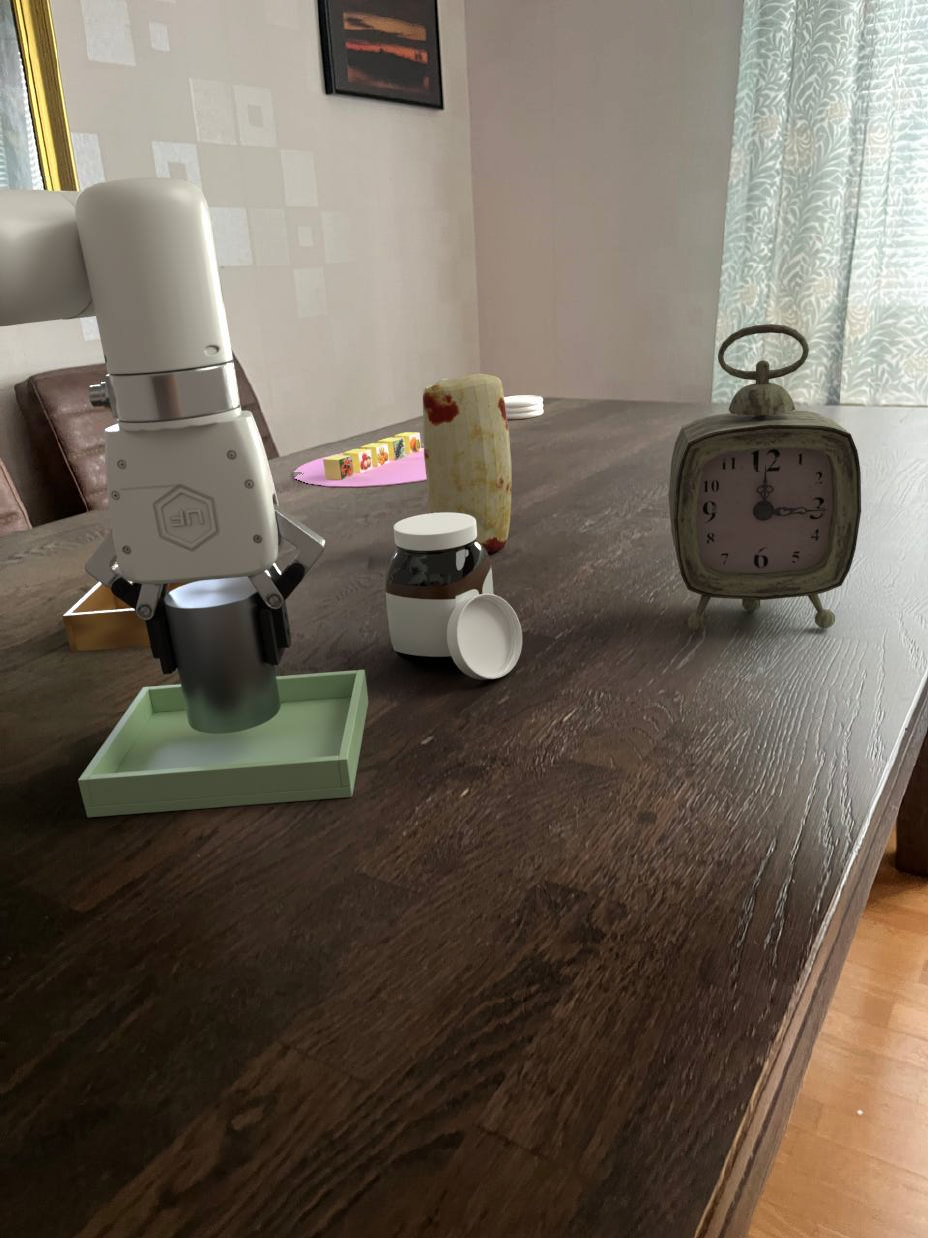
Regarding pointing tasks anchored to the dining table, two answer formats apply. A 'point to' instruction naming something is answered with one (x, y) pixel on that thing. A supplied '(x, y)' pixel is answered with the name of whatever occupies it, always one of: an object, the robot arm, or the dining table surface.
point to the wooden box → (106, 621)
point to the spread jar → (448, 599)
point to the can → (222, 655)
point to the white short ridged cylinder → (523, 406)
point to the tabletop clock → (764, 496)
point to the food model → (469, 453)
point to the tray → (231, 751)
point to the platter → (370, 464)
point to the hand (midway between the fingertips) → (225, 660)
